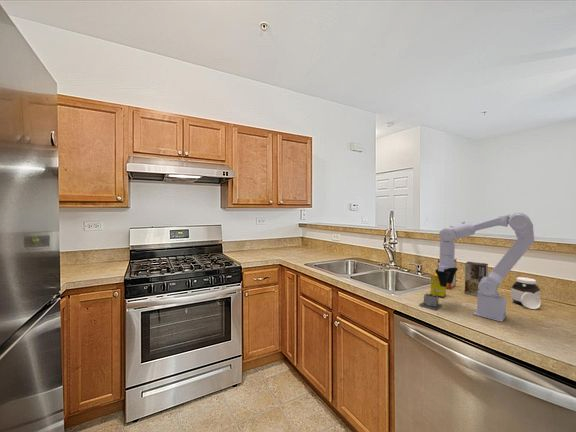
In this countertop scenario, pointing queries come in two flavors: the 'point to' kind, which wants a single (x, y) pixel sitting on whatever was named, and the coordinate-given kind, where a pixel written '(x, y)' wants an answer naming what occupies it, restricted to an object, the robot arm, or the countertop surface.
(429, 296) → the square base with peg
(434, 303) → the octagonal tube
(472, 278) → the coffee box
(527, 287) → the spread jar
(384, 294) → the countertop surface
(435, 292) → the supplement box
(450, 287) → the baking soda box
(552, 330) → the countertop surface
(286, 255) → the countertop surface
